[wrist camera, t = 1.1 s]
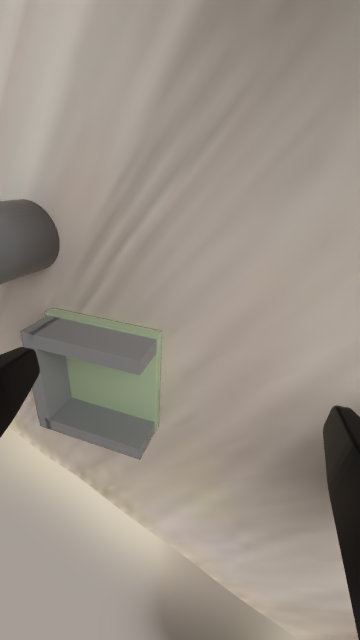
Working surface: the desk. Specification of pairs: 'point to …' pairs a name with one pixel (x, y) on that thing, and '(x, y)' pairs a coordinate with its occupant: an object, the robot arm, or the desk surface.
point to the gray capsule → (25, 239)
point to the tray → (97, 379)
